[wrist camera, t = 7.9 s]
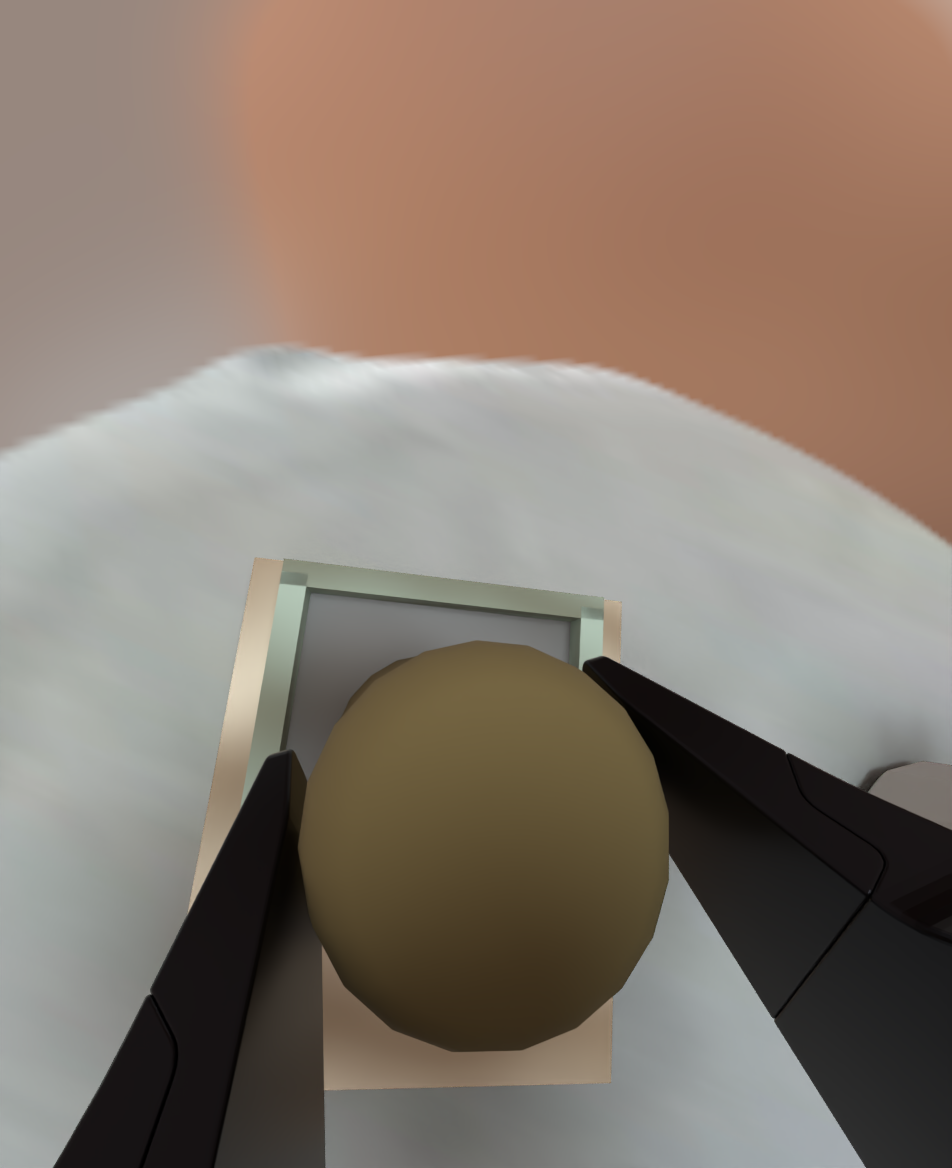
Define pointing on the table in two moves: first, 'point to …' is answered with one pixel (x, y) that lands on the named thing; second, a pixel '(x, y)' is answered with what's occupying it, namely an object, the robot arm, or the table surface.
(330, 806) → the cork
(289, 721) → the dock
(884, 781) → the water bottle
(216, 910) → the robot arm
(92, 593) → the table surface
